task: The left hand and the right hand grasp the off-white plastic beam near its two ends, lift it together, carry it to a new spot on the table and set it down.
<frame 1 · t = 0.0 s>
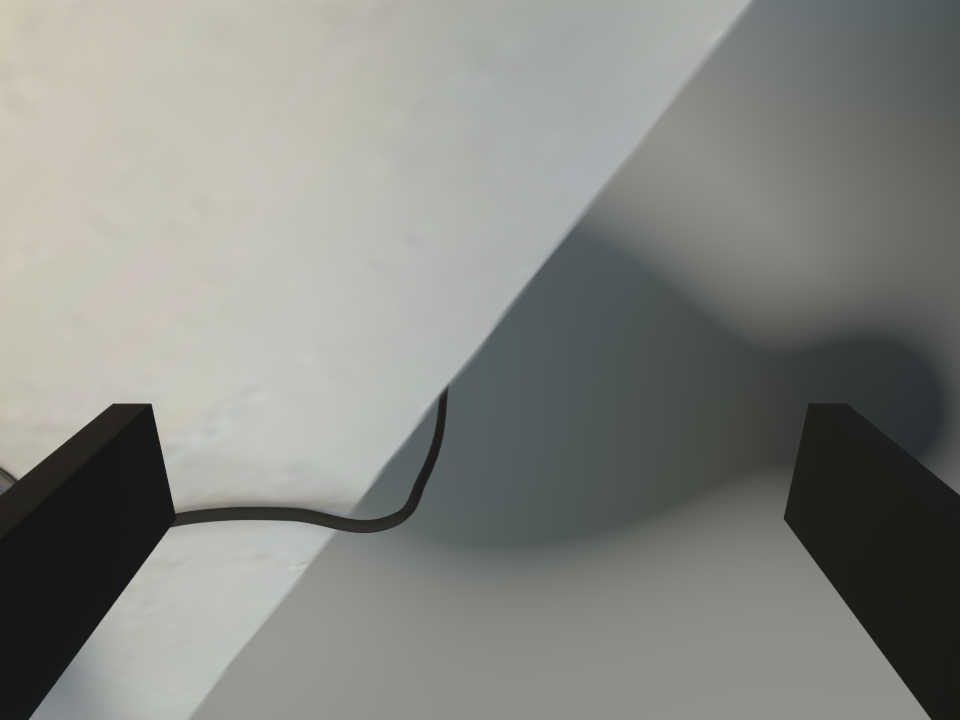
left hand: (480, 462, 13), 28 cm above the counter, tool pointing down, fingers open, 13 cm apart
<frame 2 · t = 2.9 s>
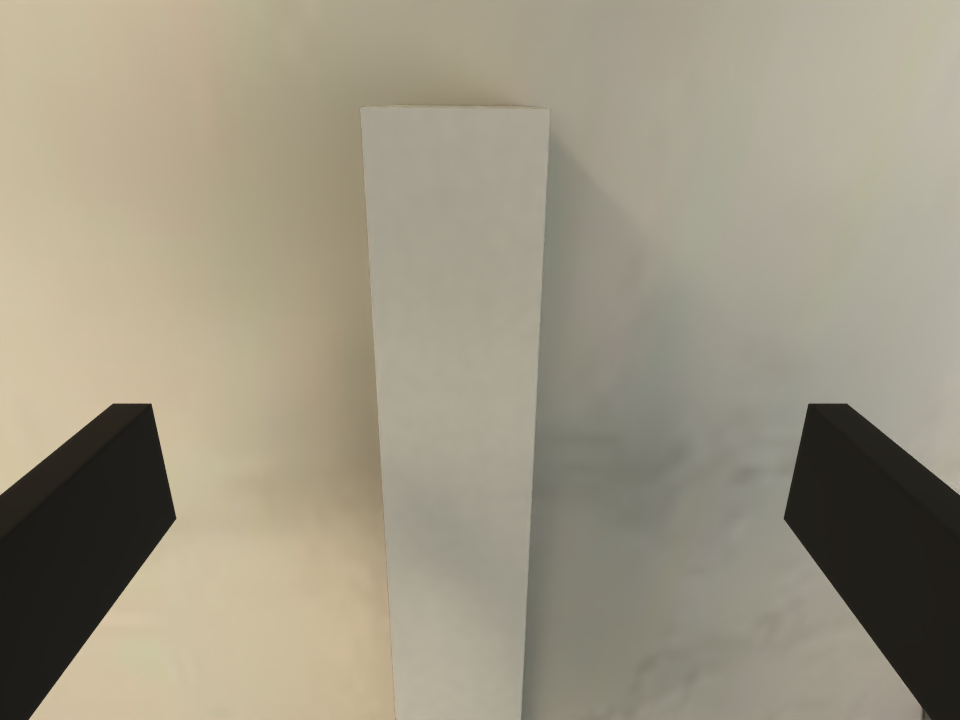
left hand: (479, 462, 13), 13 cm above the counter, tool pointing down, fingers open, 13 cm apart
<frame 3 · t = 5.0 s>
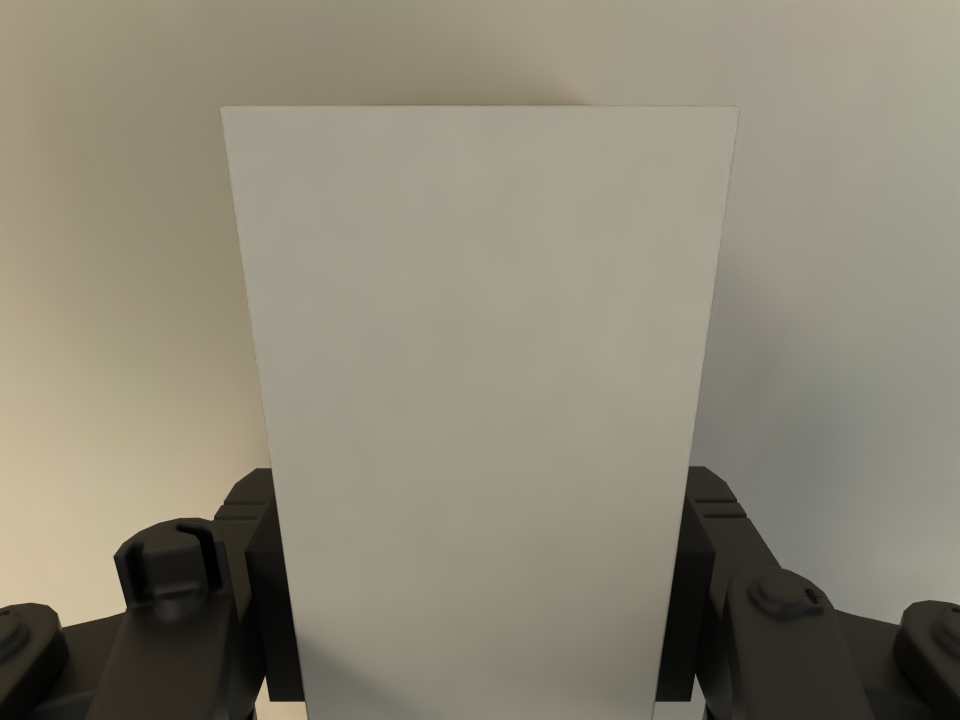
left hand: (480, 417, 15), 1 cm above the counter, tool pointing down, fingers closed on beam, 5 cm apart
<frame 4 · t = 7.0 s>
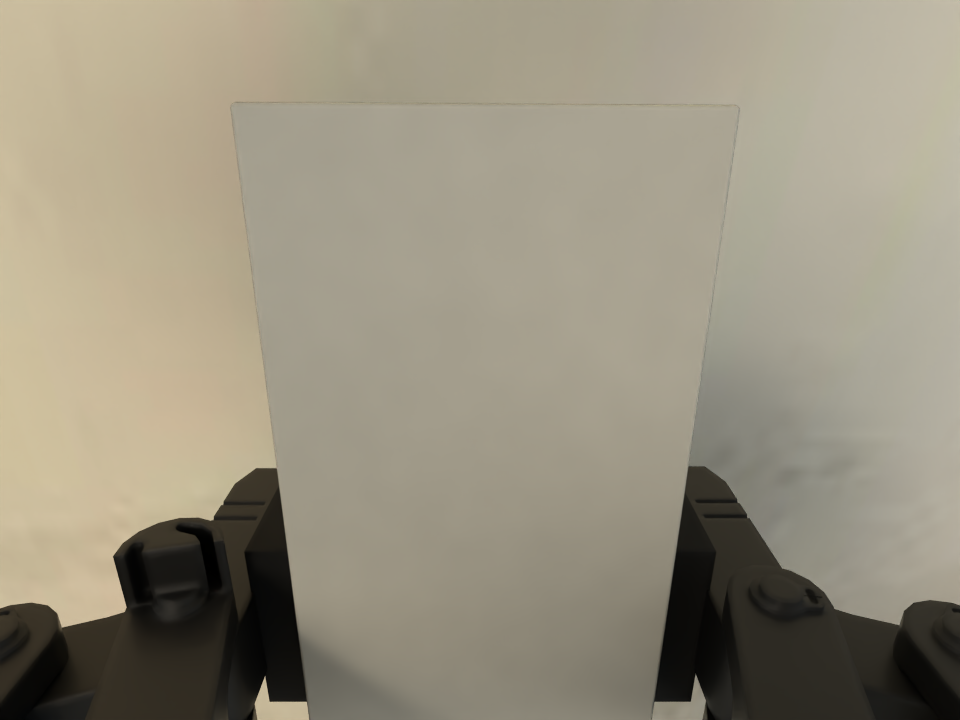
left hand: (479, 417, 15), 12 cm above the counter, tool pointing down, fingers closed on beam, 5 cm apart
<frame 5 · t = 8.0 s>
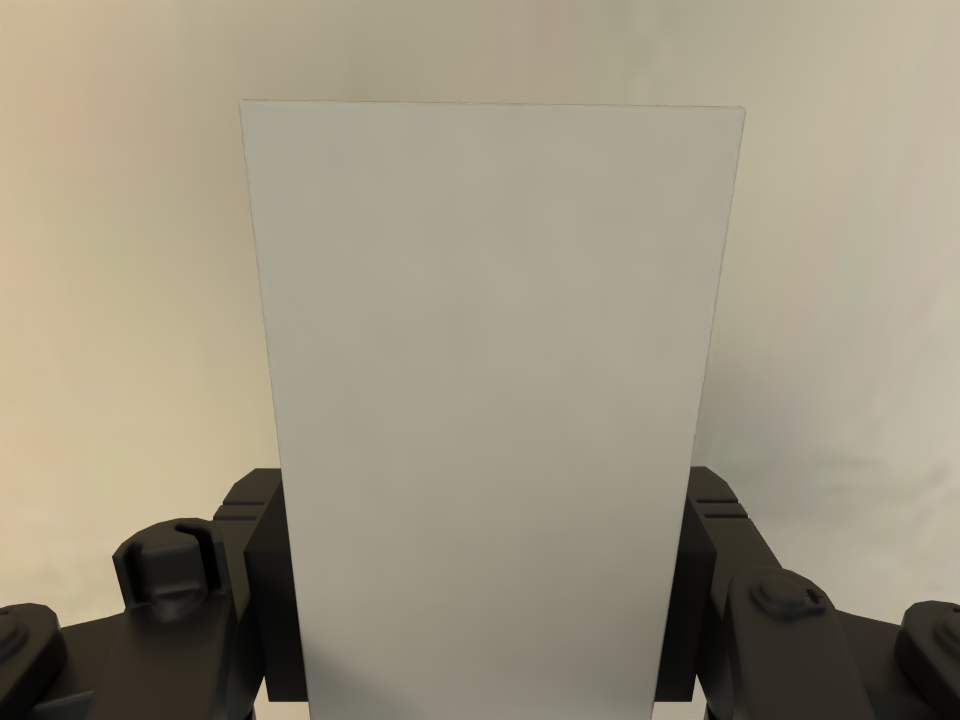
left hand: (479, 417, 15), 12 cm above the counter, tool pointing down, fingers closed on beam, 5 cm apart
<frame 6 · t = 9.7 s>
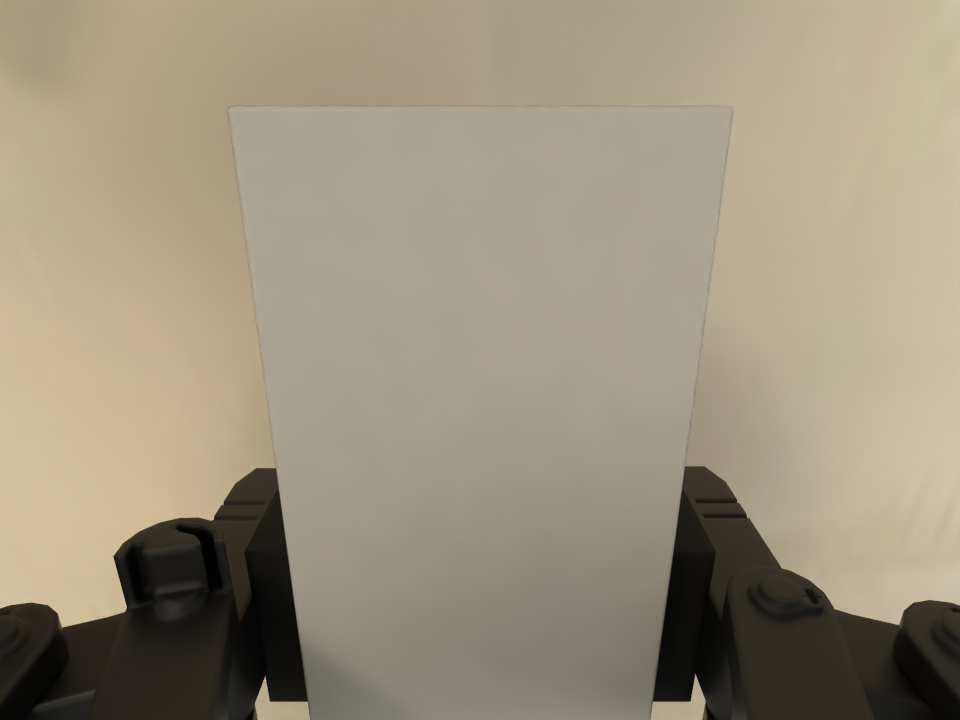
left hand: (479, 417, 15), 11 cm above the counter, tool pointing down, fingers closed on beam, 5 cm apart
when the right hand's fingers open (2 cm above the counter, at t = 11.0 s): beam drops 2 cm, on the counter.
when the left hand's fingers open (2 cm above the counter, at t = 11.1 s): beam drops 2 cm, on the counter.
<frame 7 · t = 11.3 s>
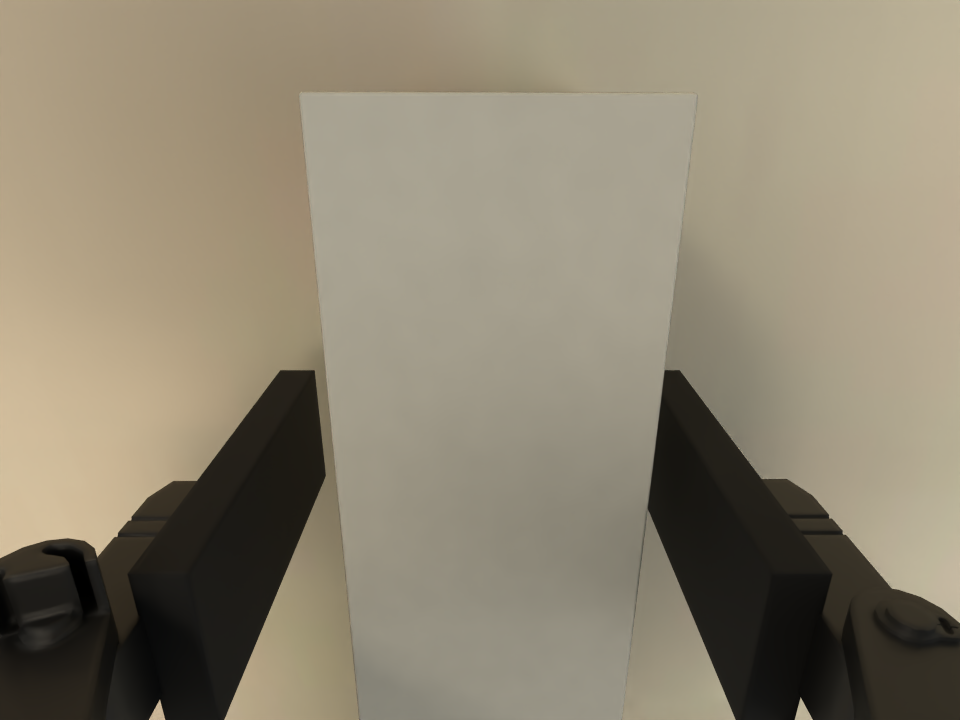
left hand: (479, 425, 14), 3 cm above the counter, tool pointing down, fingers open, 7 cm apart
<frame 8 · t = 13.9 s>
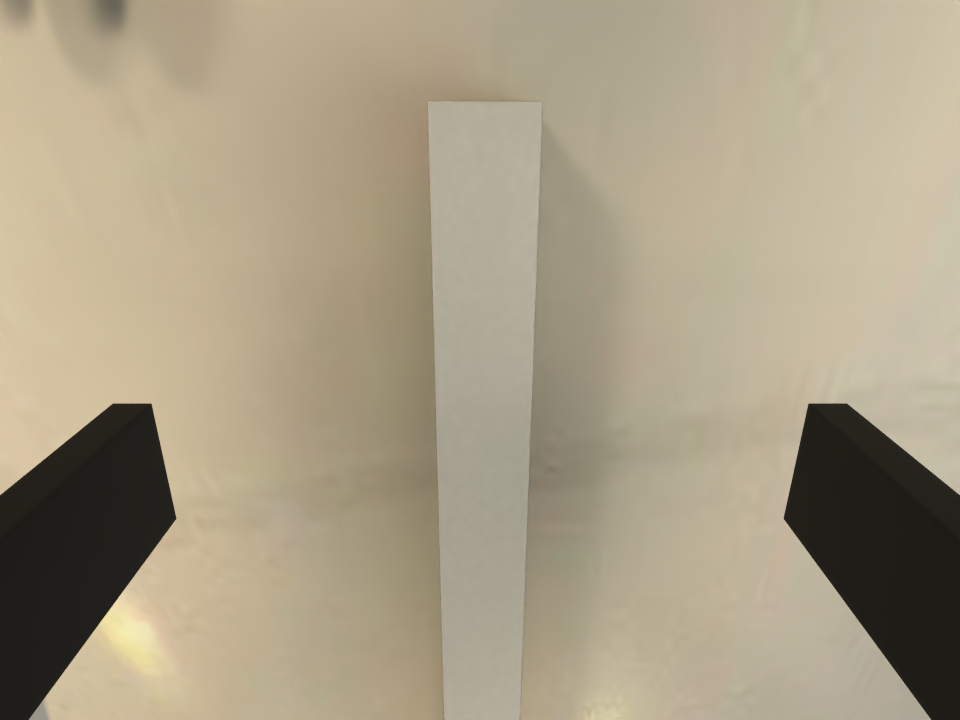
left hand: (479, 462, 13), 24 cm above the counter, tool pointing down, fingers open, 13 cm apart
beam: (481, 590, 45), on the counter
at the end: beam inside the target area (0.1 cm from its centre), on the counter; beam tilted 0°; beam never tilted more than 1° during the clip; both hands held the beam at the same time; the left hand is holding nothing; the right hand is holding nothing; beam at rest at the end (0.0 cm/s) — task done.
